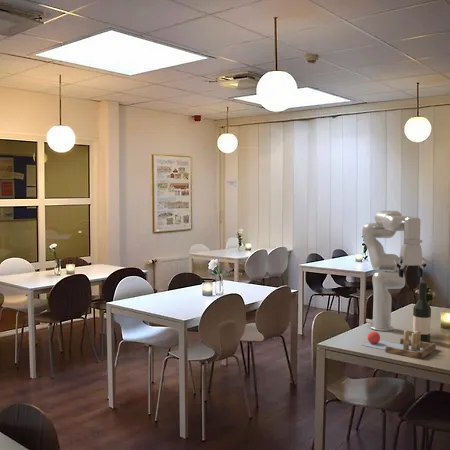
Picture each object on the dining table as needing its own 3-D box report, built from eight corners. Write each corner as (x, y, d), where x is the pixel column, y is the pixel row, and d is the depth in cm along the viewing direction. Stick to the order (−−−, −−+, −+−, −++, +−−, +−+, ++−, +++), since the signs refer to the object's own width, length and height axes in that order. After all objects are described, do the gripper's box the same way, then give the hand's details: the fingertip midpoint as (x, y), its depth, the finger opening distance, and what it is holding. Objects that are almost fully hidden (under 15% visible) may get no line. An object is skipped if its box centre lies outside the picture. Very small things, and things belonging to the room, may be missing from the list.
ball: (365, 343, 266) (365, 331, 266) (370, 341, 271) (370, 329, 270) (377, 346, 262) (377, 333, 262) (381, 343, 267) (382, 331, 267)
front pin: (402, 349, 256) (403, 331, 256) (404, 348, 258) (405, 330, 258) (407, 350, 255) (408, 331, 255) (409, 349, 257) (410, 330, 256)
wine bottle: (411, 341, 272) (414, 282, 270) (412, 337, 280) (414, 280, 278) (429, 343, 269) (431, 283, 267) (429, 339, 276) (432, 281, 275)
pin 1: (410, 352, 252) (411, 333, 251) (412, 351, 254) (412, 332, 253) (415, 353, 250) (416, 334, 250) (417, 352, 252) (417, 333, 252)
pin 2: (413, 350, 256) (414, 331, 255) (415, 349, 258) (416, 330, 257) (419, 351, 254) (419, 332, 254) (420, 350, 256) (421, 331, 256)
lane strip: (362, 345, 263) (362, 345, 263) (373, 339, 274) (373, 339, 274) (420, 356, 246) (420, 356, 246) (430, 350, 257) (430, 349, 257)
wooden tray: (385, 352, 252) (385, 345, 252) (401, 343, 269) (401, 337, 268) (421, 359, 242) (421, 352, 242) (435, 349, 259) (435, 342, 258)
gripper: (424, 241, 270) (423, 276, 271) (391, 241, 268) (390, 276, 269) (432, 243, 263) (431, 278, 264) (398, 242, 260) (397, 278, 261)
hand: (410, 277), depth 266 cm, fingers open, 9 cm apart
